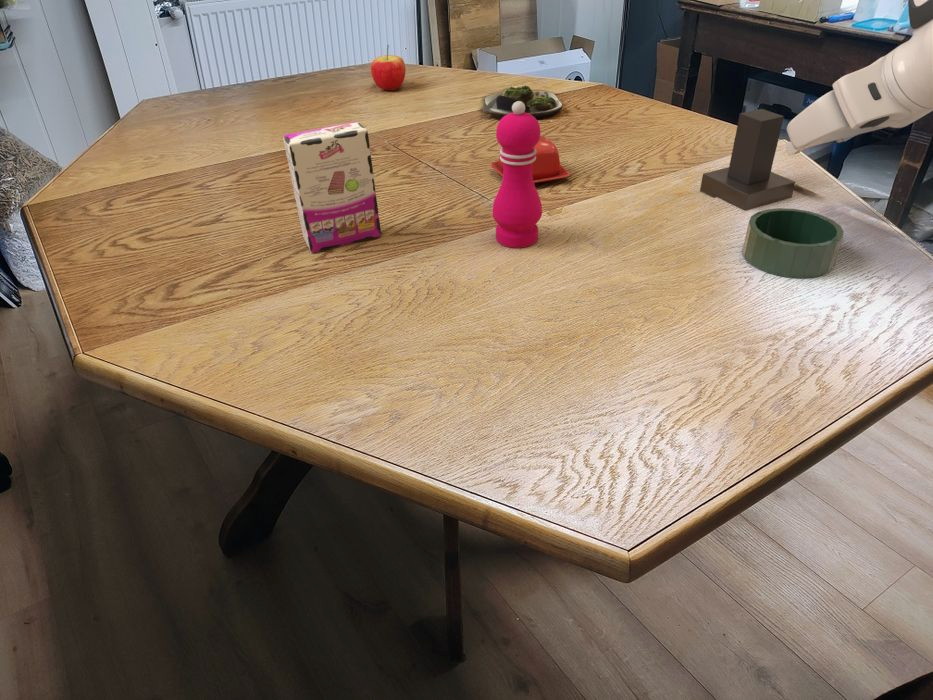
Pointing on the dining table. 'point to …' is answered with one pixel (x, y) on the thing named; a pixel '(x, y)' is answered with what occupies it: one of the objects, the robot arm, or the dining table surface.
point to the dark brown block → (755, 146)
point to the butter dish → (542, 163)
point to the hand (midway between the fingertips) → (814, 143)
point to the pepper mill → (517, 180)
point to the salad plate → (534, 101)
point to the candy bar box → (333, 185)
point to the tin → (792, 243)
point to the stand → (746, 189)
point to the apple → (388, 71)
